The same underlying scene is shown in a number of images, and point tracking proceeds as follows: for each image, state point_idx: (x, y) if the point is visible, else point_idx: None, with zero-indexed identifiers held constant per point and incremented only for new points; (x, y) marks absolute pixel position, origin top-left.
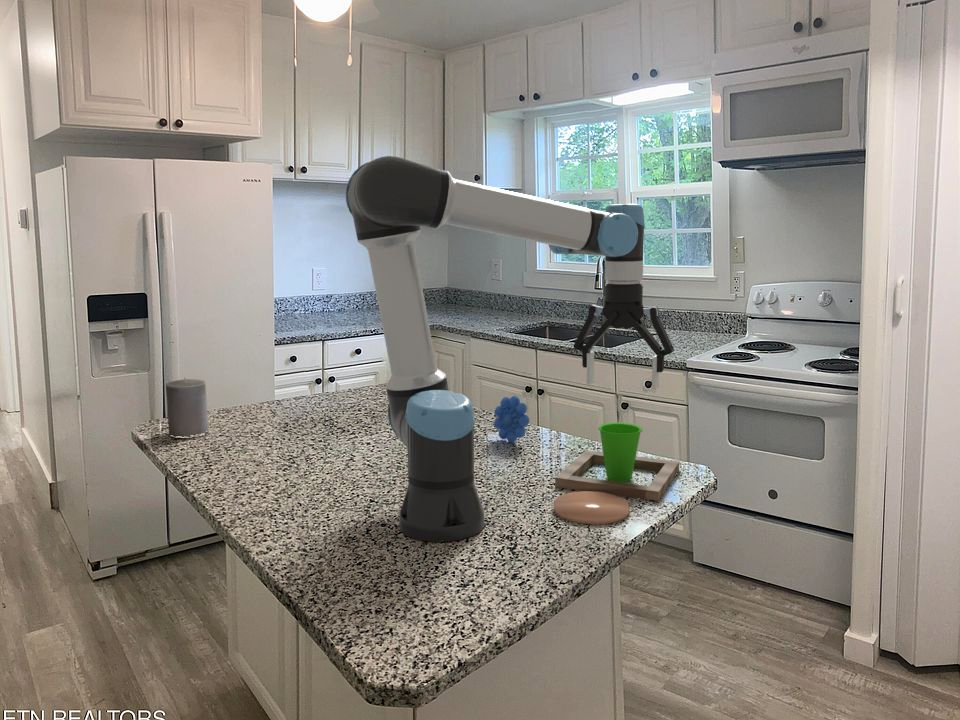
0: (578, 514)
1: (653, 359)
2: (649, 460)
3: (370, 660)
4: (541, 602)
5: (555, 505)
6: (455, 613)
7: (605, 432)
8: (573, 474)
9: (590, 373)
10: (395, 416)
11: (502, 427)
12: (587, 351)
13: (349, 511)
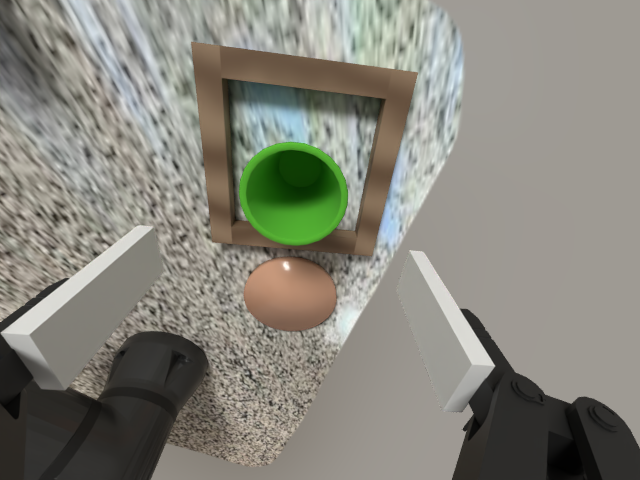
0: (285, 326)
1: (441, 398)
2: (351, 86)
3: (241, 461)
4: (299, 419)
5: (252, 312)
6: (257, 434)
7: (269, 238)
8: (230, 212)
9: (138, 297)
10: None
11: None
12: (20, 385)
13: None
